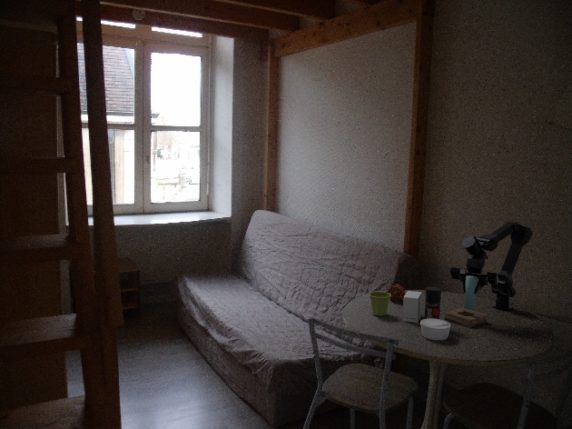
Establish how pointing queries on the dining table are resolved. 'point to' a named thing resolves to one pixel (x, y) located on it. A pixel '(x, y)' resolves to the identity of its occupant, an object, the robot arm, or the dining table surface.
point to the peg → (470, 292)
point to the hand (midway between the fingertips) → (469, 292)
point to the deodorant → (432, 303)
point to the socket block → (465, 317)
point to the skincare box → (412, 306)
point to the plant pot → (379, 302)
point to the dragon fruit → (396, 292)
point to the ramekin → (435, 329)
